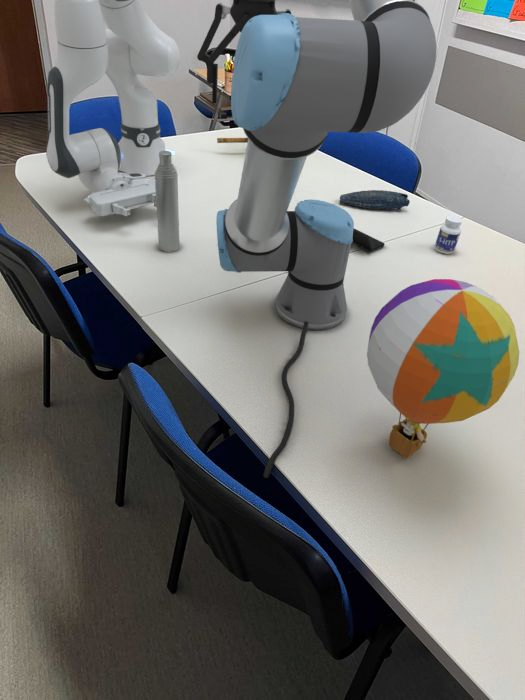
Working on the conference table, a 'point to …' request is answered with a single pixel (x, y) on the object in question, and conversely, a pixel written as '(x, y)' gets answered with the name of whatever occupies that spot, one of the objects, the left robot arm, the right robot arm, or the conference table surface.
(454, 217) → the pill bottle
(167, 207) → the bottle
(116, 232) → the conference table surface
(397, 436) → the toy
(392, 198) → the fish model
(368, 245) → the handheld gaming console
